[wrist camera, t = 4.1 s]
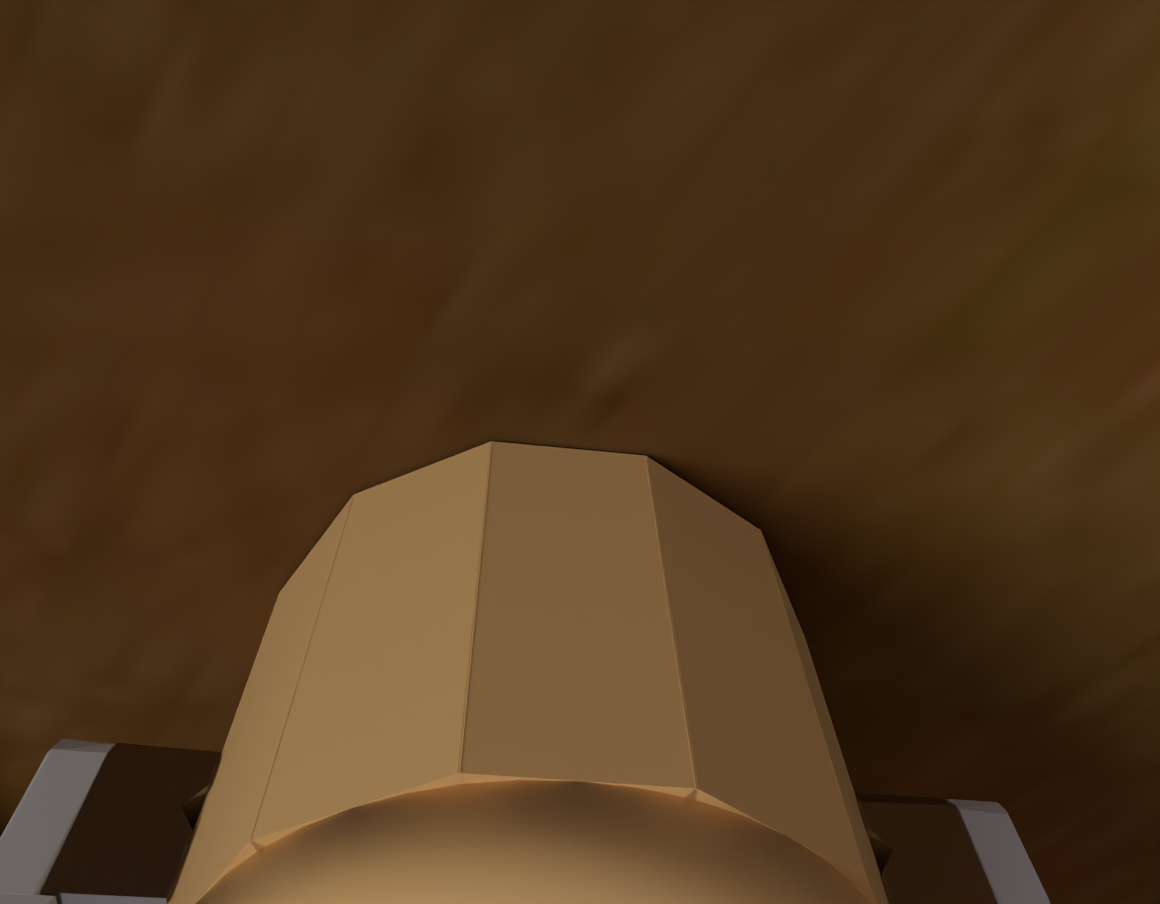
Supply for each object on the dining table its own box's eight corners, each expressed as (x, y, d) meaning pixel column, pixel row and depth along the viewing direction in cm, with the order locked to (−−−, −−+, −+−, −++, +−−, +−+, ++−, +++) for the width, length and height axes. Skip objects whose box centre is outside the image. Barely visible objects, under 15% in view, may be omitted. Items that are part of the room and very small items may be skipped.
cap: (852, 474, 11) (1087, 975, 6) (738, 849, 14) (838, 1380, 9) (273, 420, 10) (35, 921, 6) (287, 821, 13) (140, 1370, 8)
